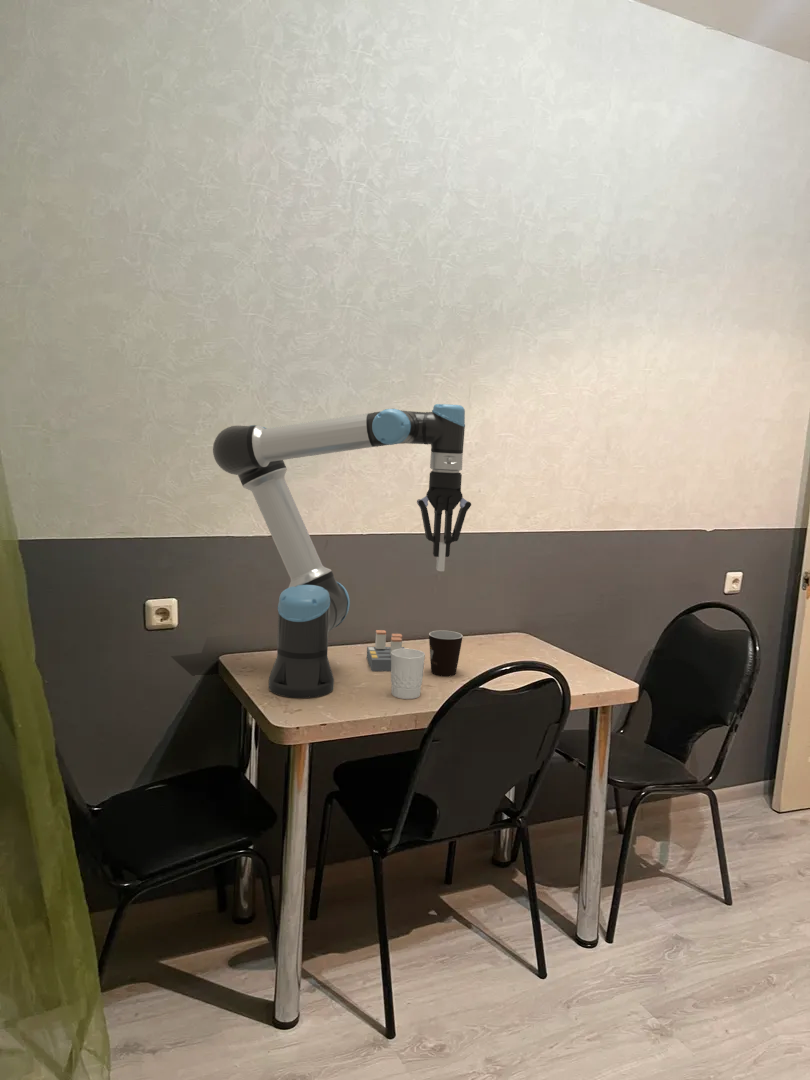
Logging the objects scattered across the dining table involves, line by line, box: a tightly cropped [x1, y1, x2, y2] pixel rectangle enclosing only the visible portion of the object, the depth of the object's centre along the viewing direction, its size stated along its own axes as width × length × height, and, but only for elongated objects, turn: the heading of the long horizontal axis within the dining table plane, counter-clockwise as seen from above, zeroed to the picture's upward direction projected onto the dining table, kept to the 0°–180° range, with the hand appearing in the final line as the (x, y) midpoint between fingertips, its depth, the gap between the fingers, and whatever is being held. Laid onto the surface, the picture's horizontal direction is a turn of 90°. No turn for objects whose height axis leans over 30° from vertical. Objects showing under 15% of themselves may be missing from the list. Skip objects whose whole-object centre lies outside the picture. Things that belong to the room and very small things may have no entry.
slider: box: [374, 629, 387, 649], centre depth 214 cm, size 2×2×4 cm
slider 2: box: [391, 633, 403, 649], centre depth 211 cm, size 2×2×4 cm
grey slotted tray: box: [366, 646, 405, 672], centre depth 211 cm, size 10×12×3 cm
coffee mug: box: [428, 629, 464, 678], centre depth 208 cm, size 12×9×10 cm
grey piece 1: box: [390, 636, 403, 655], centre depth 208 cm, size 2×2×4 cm
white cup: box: [390, 647, 426, 700], centre depth 188 cm, size 8×8×10 cm
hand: (440, 570), depth 193 cm, fingers closed
